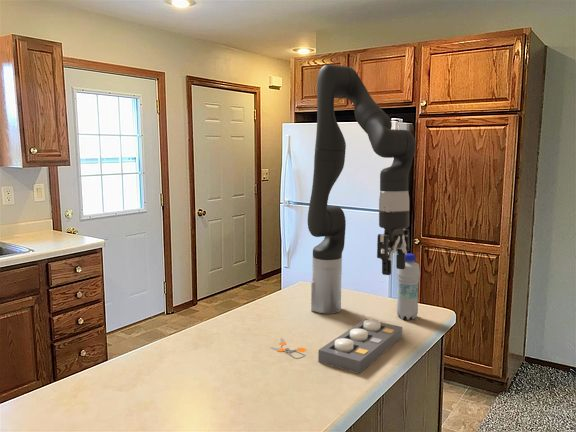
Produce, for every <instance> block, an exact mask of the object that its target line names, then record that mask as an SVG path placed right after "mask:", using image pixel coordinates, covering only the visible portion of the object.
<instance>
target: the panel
mask: <svg viewBox="0 0 576 432" xmlns="http://www.w3.org/2000/svg"><path fill="white" fill-rule="evenodd" d="M365 320H370V318H369V319H367V318H365V319H363V320H362V321H360V322H358V323H357V324H356V325H354V326H352V327H351V328H350V329H348V330H347V331H345V332H344V333H342V334H340V335H339V336H338V337H335V338H334V339H333V340H331V341H330V342H329V343H326V345H324V346H322V347H321V348H319V349H318V357H317V358H318V361H317V362H318V363H322V364H325V365H328V366H332V367H336V368H339V369H342V370H345V371H348V372H352V373H356V374H361V373H362V372H363V371H364V370H366V369H367V368H369V366H370V365H372V364H373V363H374V362H375V361H376V360H377V359H379V358H380V357H381V356H382V355H383V354H384V353H386V352H387V351H388V350H389V349H391V348H392V346H393V345H395V344H396V343H397V342H399V341H400V340H401V339H402V338H403V326H399V325H396V324H390V323H386V322H381V321H379V322H380V323H381V328H380V331H379V332H378V333H376V332H372V331H367V330H366V331H367V332H368V340H367V341H366V342H364V343H363V342H359V341H355V340H352V341H353V342H354V349H353V351H352V352H351V353H349V354H348V353H344V352H340V351H337V350H335V340H337V339H341V338H345V339H350V330H352V329H363V323H364V321H365ZM350 340H351V339H350Z"/></svg>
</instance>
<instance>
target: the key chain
mask: <svg viewBox="0 0 576 432" xmlns="http://www.w3.org/2000/svg"><path fill="white" fill-rule="evenodd" d="M287 343H288V342H287V341H285V339H284V338H281V337H280V342H279V343H278V345H280V348H279V347H272V346H270V347H269V349H271V350H274V351H276V352H278V353H283V352H284V353H286V354H288V355H289V356H290V357H292V358H293V359H296V360H298V359H302V358H304V357H306V354H305V353H304V352H306V351H307V348H305V347H298V348H297V349H291V348H289V347H288V348H284V347H283V346H285V345H287ZM292 353H298V354H301V355H302V356H299V357H296V356H294V355H293V354H292Z"/></svg>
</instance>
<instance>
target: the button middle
mask: <svg viewBox="0 0 576 432" xmlns="http://www.w3.org/2000/svg"><path fill="white" fill-rule="evenodd" d="M350 339H351V340H355V341H359V342H363V343H364V342H366V341H367V340H368V332H367V331H366V330H364V329H352V330H350Z"/></svg>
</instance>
